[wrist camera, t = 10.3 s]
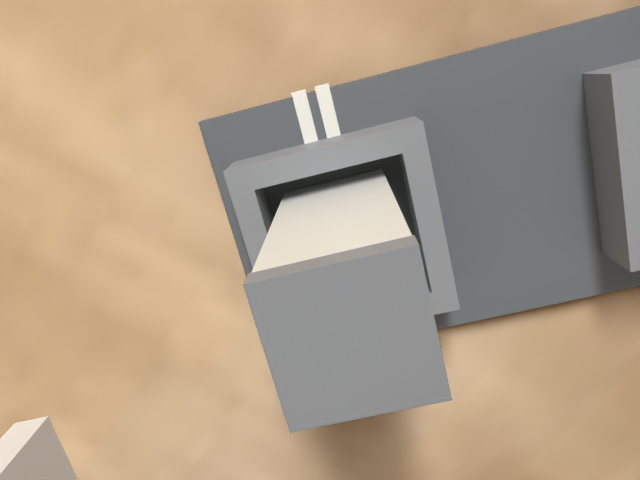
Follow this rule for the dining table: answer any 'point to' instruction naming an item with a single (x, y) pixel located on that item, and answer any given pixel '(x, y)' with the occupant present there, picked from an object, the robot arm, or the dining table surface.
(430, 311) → the plug
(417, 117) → the patch panel
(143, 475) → the dining table surface
